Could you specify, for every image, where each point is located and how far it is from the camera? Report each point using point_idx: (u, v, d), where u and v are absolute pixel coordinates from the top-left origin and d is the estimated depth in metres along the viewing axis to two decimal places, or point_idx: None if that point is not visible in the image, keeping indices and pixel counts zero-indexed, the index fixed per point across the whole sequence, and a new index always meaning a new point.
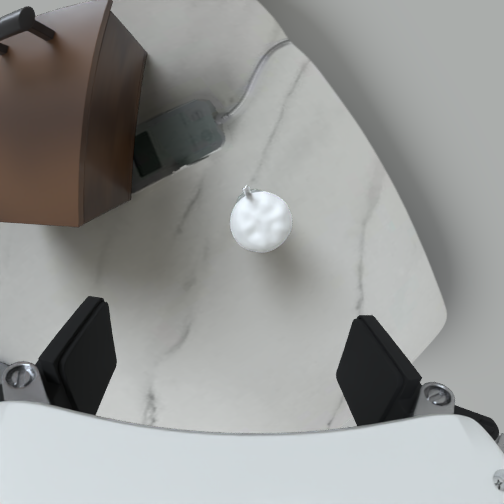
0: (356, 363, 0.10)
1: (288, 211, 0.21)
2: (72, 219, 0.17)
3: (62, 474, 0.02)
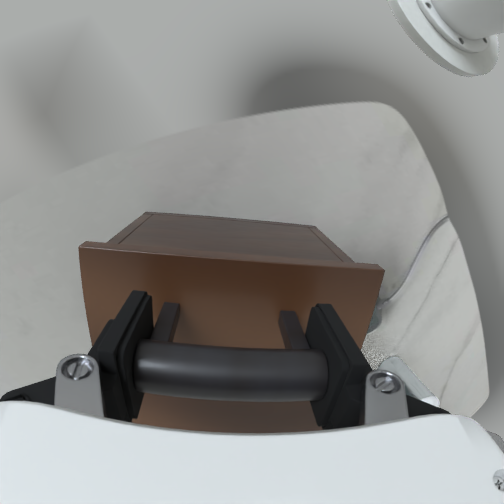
0: None
1: None
2: None
3: (62, 474, 0.02)
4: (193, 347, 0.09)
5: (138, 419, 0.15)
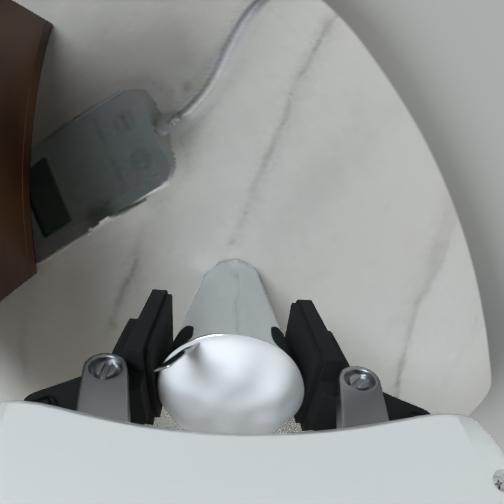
0: (292, 346, 0.10)
1: (296, 381, 0.08)
2: None
3: (62, 474, 0.02)
4: None
5: None
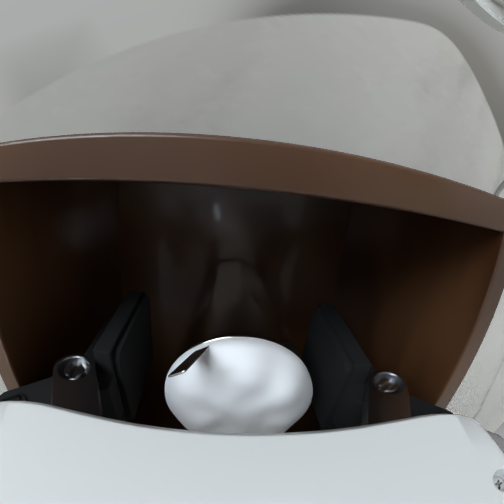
0: (315, 350, 0.10)
1: (305, 382, 0.08)
2: None
3: (62, 474, 0.02)
4: None
5: None
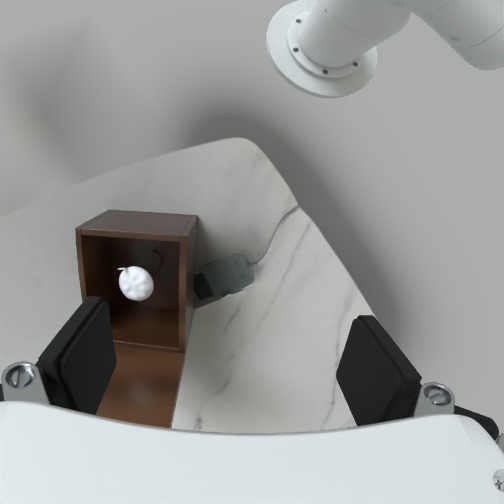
0: (356, 363, 0.10)
1: (148, 278, 0.34)
2: None
3: (62, 474, 0.02)
4: None
5: None
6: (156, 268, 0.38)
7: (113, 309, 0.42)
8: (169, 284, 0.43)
